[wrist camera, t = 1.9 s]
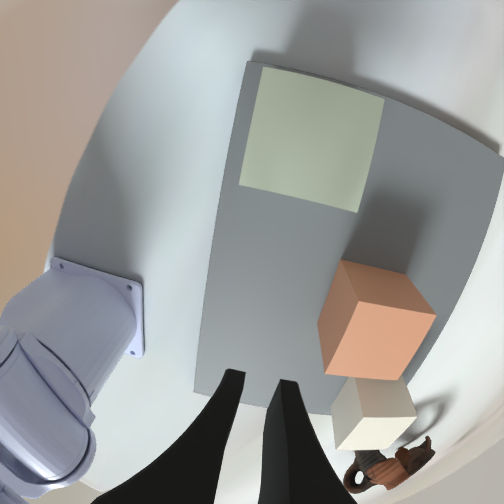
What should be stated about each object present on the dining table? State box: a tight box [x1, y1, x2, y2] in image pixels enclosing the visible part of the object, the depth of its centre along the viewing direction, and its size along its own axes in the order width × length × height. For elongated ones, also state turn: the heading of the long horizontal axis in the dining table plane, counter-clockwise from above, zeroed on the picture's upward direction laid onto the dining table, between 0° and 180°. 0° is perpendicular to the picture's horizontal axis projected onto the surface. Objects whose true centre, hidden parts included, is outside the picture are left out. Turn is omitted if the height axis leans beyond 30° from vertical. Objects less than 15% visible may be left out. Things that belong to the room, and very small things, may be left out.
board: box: [194, 61, 504, 415], centre depth 19 cm, size 19×26×1 cm
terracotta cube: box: [317, 259, 437, 380], centre depth 16 cm, size 5×5×5 cm
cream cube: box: [331, 374, 418, 450], centre depth 19 cm, size 5×5×5 cm
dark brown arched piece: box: [343, 436, 435, 494], centre depth 25 cm, size 12×10×8 cm
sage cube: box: [239, 67, 385, 213], centre depth 13 cm, size 5×5×5 cm
